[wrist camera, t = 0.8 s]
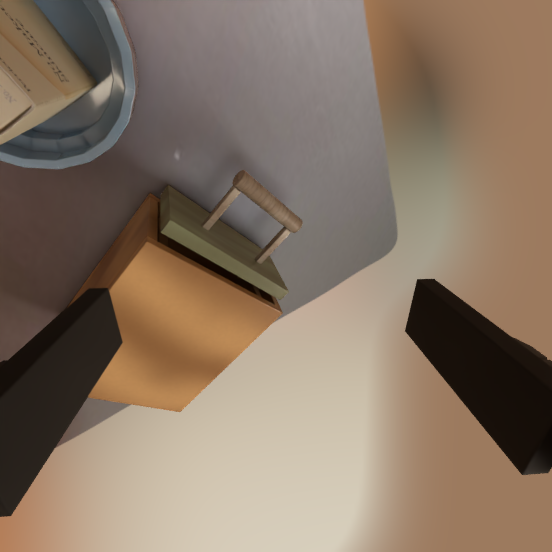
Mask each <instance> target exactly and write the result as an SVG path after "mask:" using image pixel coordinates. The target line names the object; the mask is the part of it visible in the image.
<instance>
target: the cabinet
mask: <svg viewBox="0 0 552 552" xmlns="http://www.w3.org/2000/svg"><path fill="white" fill-rule="evenodd" d="M159 213H160V199H159V198H157V197H156V196H154V195H152V194H151V193H150V194H149V195H148V196H147V198H146V199H145V201H144V202H143V203H142V205H141V206H140V207H139V209H138V210H137V212H136V213H135V214H134V216H133V217H132V218H131V220H130V221H129V223H128V224H127V225H126V227H125V228H124V229H123V231H122V232H121V234H120V235H119V236H118V238H117V239H116V240H115V242H114V243H113V245H112V246H111V247H110V249H109V250H108V251H107V253H106V254H105V256H104V257H103V258H102V260H101V261H100V262H99V264H98V265H97V267H96V268H95V269H94V271H93V272H92V273H91V275H90V276H89V278H88V279H87V280H86V282H85V283H84V284H83V286H82V287H81V289H80V290H79V291H78V293H77V294H76V295H75V297H74V298H73V300H72V301H71V302H70V304H69V305H68V306H70V305H71V304H72V303H73V302H74V301H75V300H76V299H77V298H78V297H80V296H81V295H82V294H83V293H84V292H85V291H86V290H87V289H89V288H108V289H109V292H110V296H111V300H112V304H113V308H114V311H115V315H116V319H117V323H118V326H119V330H120V334H121V338H122V341H123V343H122V345H121V346H120V348H119V349H118V351H117V352H116V354H115V355H114V357H113V359H112V360H111V362H110V363H109V365H108V366H107V368H106V369H105V371H104V372H103V374H102V376H101V377H100V379H99V380H98V382H97V383H96V385H95V386H94V388H93V390H92V391H91V393H90V394H89V396H88V397H89V398H95V399H101V400H108V401H114V402H120V403H126V404H133V405H140V406H145V407H151V408H158V409H164V410H170V411H176V412H181V411H182V410H183V409H184V407H186V406H187V405H188V404H189V403H190V402H191V401H192V400H193V399H194V398H195V397H196V396H197V395H198V394H199V393H200V392H201V391H202V390H203V389H205V387H207V385H209V384H210V383H211V382H212V381H213V380H214V379H215V378H216V377H217V376H218V375H219V374H220V373H221V372H222V371H223V370H224V369H225V368H226V367H227V366H228V365H229V364H230V363H231V362H232V361H234V360H235V359H236V358H237V357H238V356H239V355H240V354H241V353H242V352H243V351H244V350H245V349H246V348H247V347H248V346H249V345H250V344H251V343H252V342H253V341H254V340H255V339H256V338H257V337H259V336H260V335H261V334H262V333H263V332H264V331H265V330H266V329H267V328H268V327H269V326H270V325H271V324H272V323H273V322H274V321H275V320H276V319H277V318H278V317H279V316H280V315H281V314H282V313H283V312H282V310H281V308H280V306H279V304H278V302H277V299H276V297H274V296H272V295H270V294H269V293H267V292H265V291H263V290H262V289H260V288H258V289H259V292H260V294H261V297H262V298H261V297H259V296H258V295H256V294H254V293H252V292H250V291H248V290H246V289H245V288H243V287H241V286H239V285H237V284H235V283H233V282H232V281H230V280H228V279H226V278H224V277H222V276H220V275H219V274H217V273H215V272H213V271H211V270H209V269H207V268H206V267H204V266H202V265H200V264H198V263H196V262H194V261H193V260H191V259H189V258H187V257H185V256H183V255H182V254H180V253H178V252H176V251H174V250H172V249H170V248H169V247H167V246H165V245H163V244H161V243H159V242H157V232H158V214H159ZM68 306H67V307H68Z"/></svg>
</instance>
